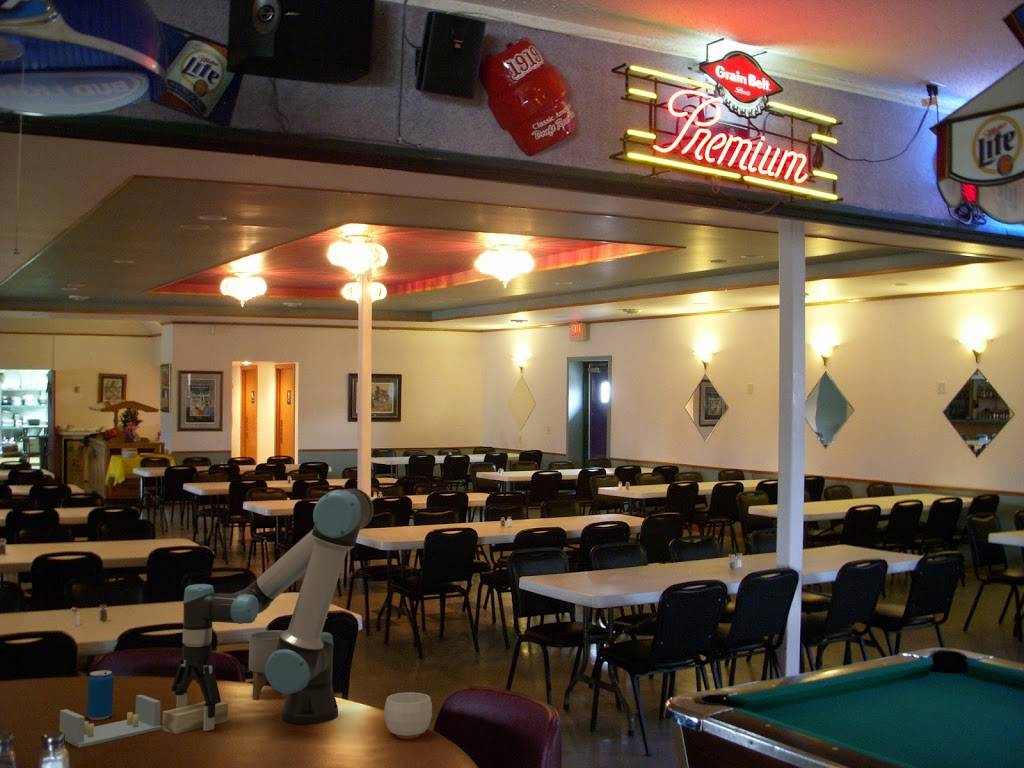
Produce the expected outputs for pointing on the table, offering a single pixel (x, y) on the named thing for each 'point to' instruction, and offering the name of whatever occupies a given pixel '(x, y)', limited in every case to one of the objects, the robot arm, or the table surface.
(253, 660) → the planter
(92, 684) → the beverage can
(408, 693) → the cup
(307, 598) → the robot arm
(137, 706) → the peg frame
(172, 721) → the shelf board
